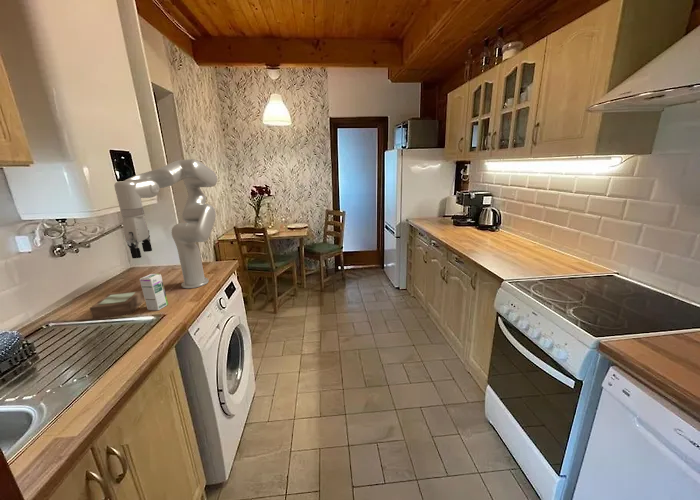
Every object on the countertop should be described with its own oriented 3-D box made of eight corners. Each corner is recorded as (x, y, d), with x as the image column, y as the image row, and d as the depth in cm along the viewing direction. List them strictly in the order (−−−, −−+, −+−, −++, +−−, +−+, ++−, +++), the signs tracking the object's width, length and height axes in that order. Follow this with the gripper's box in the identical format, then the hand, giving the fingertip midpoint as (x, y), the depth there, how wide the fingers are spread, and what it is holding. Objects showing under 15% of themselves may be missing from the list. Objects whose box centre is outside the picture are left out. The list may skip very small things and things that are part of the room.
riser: (110, 304, 144) (107, 293, 142) (144, 300, 146) (142, 289, 144) (93, 319, 130) (89, 307, 129) (130, 314, 133) (127, 302, 131)
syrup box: (158, 310, 135) (151, 278, 131) (146, 310, 136) (138, 278, 132) (168, 304, 140) (161, 273, 136) (157, 304, 141) (149, 273, 137)
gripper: (133, 210, 134) (142, 249, 139) (110, 217, 118) (121, 261, 122) (152, 209, 135) (161, 248, 140) (132, 215, 119) (142, 259, 123)
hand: (142, 254), depth 131 cm, fingers open, 9 cm apart
